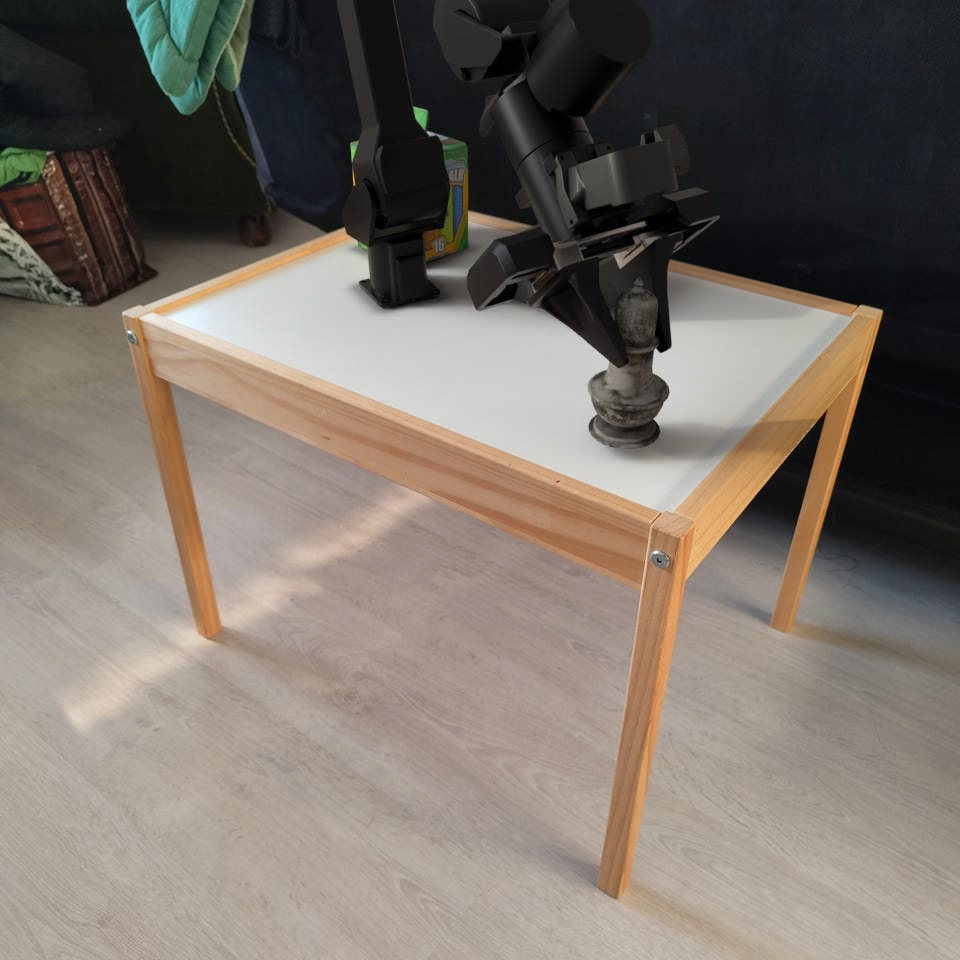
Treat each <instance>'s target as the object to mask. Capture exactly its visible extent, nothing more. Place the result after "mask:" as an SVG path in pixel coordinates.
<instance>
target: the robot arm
mask: <svg viewBox="0 0 960 960" xmlns="http://www.w3.org/2000/svg"><path fill="white" fill-rule="evenodd" d="M335 1H336V5H337V10H338V16H339V20H340V25H341V30H342V35H343V39H344V44H345V49H346V54H347V60H348V64H349V69H350V75H351V78H352V84H353V88H354V93H355V99H356V104H357V107H358V112H359V118H360V122H361V123H360V124H361V133H360V136H359V138H358V141H359V142H358V145H357V148H356V151H355V154H354V158H353V161H352V160H351V166H352V167H353V168H352V175H353V174H354V181H355V185H354V184H353V187H352V189H351V191H350V193H349V195H348V197H347V199H346V201H345V203H344V205H343V207H342V210H341V211H340V212H341V214H340V215H341V218H342V221H343V226H344V230H345V233H346V235H347V236H349V237H350V238H352V239H354V240H355V241H357V243H358V242H360V243H362V244H363V245H365V246H366V247H367V250H366V252H367V262H368V270H369V271H368V272H369V278H365V279H361V280H358V286H359V288H360V289H361V290H362V291H363V292H364V293H365V294H366V295H367V296H368V297H370V299H371V300H372V301H374V303H375V304H377V306H379V307H380V308H389V307H390V308H391V307H393V306H398V305H402V304H408V303H412V302H416V301H420V300H425V299H429V298H434V297H439V296H440V295H441V289H440V288H439V287H438V286H437V285H436V284H435V283H433V282H432V281H431V280H430V279H429V278H428V270H427V269H428V268H427V262H426V249H425V232H428V231H432V230H436V229H438V230H440V229H443V228H444V224H445V219H446V213H447V207H448V202H449V196H450V183H449V182H450V179H449V176H448V173H447V170H446V166H445V161H444V152H443V144H442V142H441V141H440V139H439V137H438V136H437V135H434V136H429V135H428V133H427V132H426V131H425V130H424V128H423V127H422V126H421V125H420V124H419V122H418V121H417V120H416V117H415V113H414V108H413V107H414V102H413V98H412V91H411V87H410V80H409V76H408V70H407V65H406V59H405V54H404V53H405V52H404V47H403V43H402V37H401V32H400V26H399V21H398V16H397V9H396V5H395V4H396V3H395V0H335ZM432 28H433V31H434V33H435V35H436V38H437V41H438V42H439V45H440V47H441V50H442V53H443V56H444V58H445V60H446V61H447V63H448V65H449V67H450V69H451V72H453V73H454V75H455V76H456V77H457V79H458V80H460V81H461V82H463V83H483V82H488V81H495V80H500V79H506V80H505V81H504V82H503V83H502V85H501V87H500V88H499V89H498V91H497V93H496V94H493V95H487V96H486V97H485V99H484V110H483V113H482V115H481V118H480V120H479V129H478V132H479V135H480V137H482V138H487V137H492V136H497V135H498V136H499V138H500V140H501V142H502V144H503V147H504V149H505V151H506V154H507V156H508V158H509V160H510V162H511V164H512V168H513V169H514V171H515V173H516V176H517V178H518V181H519V183H520V185H521V188H520V189H519V191H518V192H517V193H516V194H515V195H514V198H515V200H516V203H517V205H518V207H519V210H523V209H526V208H531V209H532V212H533V214H534V216H535V218H536V220H537V224H539V225H540V227H541V229H542V231H541V230H539V229H533V230H529V231H525V232H522V231H521V232H522V233H519V232H517V233H518V234H517V233H515V234H511V235H507V236H502V237H499V238H496V239H493V240H492V242H491V243H490V244H489V245H488V246H487V247H486V249H485V250H484V251H483V252H482V254H480V256H478V258H477V259H476V260H475V262H473V264H472V265H471V266H470V268H469V269H468V271H467V275H466V291H467V293H468V295H469V298H470V300H471V303H472V305H473V307H474V308H475V311H477V312H482V311H487V310H489V309H493V308H496V307H500V306H503V305H506V304H511V303H512V301H513V300H515V299H514V297H515V294H516V291H517V289H518V284H517V282H520V281H523V280H527V279H529V280H530V282H531V285H532V287H533V290H534V292H535V294H533V295H532V296H531V297H530V298H529V299H528V300H527V303H526V304H527V306H528V307H529V308H530V309H533V308H539V307H541V308H540V309H542V310H543V311H544V312H546V313H548V314H549V315H551V316H552V317H553V318H555V319H556V320H557V321H559V322H561V323H562V324H563V325H565V326H566V327H567V328H569V329H571V330H572V331H573V332H574V333H575V334H576V335H578V336H579V337H580V338H581V339H582V340H584V342H585V343H587V344H588V345H589V346H591V347H592V348H593V349H594V350H596V352H598V353H599V354H600V355H601V356H602V357H604V358H605V359H606V360H607V361H608V362H609V361H610V362H611V363H612V364H613V365H614V366H616V367H617V368H622V367H624V366H626V365H627V364H628V363H629V358H628V355H627V351H626V348H625V345H624V342H623V340H622V337H621V335H620V333H619V331H618V328H617V326H616V324H615V321H614V316H613V315H612V312H611V309H609V308H608V306H607V303H606V301H605V299H604V297H603V294H602V292H601V290H600V285H599V258H603V257H606V256H610V255H614V257H615V259H616V261H617V264H618V266H619V268H620V270H618V271H617V272H616V273H615V274H614V275H612V276H611V277H610V279H611V281H612V282H613V284H614V285H615V287H616V289H617V290H618V292H619V293H621V292H623V291H625V290H627V289H630V288H633V287H635V285H634V282H635V281H636V280H637V279H638V278H639V277H640V278H641V279H642V282H644V285H642V288H644V289H646V290H648V291H650V292H652V293H653V294H654V295H655V296H656V298H657V300H658V312H657V321H656V329H655V335H656V336H657V337H658V338H659V342H660V343H659V346H658V347H657V348H656V349H655V350H656V351H657V352H658V353H659V354H663V353H665V352H667V351H669V350H670V349H672V347H673V342H672V341H673V340H672V331H671V330H672V329H671V319H670V305H669V294H668V274H669V273H668V269H669V264H670V261H671V258H672V255H673V253H675V252H677V251H679V250H680V249H682V248H683V247H685V246H686V245H687V244H688V243H689V242H691V241H692V240H694V239H695V238H696V237H698V235H700V234H701V233H702V232H703V231H705V230H706V229H708V228H709V227H710V226H711V225H712V224H714V223H715V222H716V221H717V220H719V219H720V218H721V215H720V213H719V211H718V208H717V206H716V204H715V202H714V200H713V197H712V195H711V193H710V191H707V190H705V189H702V188H700V187H697V186H694V187H691V188H688V189H684V190H679V186H678V179H677V176H680V175H684V174H687V173H688V172H689V170H690V167H691V159H690V152H689V148H688V144H687V143H686V141H685V138H684V137H683V136H682V134H681V132H680V130H679V129H678V127H677V126H676V124H671V125H666V126H660V127H657V128H654V130H649V131H646V132H643V133H642V134H641V135H640V142H639V145H637V146H633V147H632V146H631V147H628V148H623V149H621V150H615V148H614V146H613V145H612V144H611V143H609V142H608V140H602V141H597V142H595V141H594V139H593V137H592V135H591V133H590V130H589V128H588V127H587V124H586V122H585V120H584V118H586V117H590V116H593V115H594V114H596V113H598V112H599V110H601V108H602V107H603V106H604V105H605V104H606V103H607V101H608V100H609V99H610V98H611V97H612V96H613V95H614V94H615V92H616V91H617V90H618V88H619V87H620V86H621V85H622V84H623V83H624V82H625V80H626V79H627V78H628V77H629V75H631V73H632V72H633V71H634V70H635V68H636V67H637V66H638V65H639V64H640V62H641V61H642V60H643V59H644V57H646V55H647V54H648V53H649V51H650V48H651V46H652V42H653V28H652V24H651V21H650V18H649V16H648V14H647V11H646V10H645V8H644V7H643V6H641V5H639V4H637V2H636V1H635V0H553V1H552V3H551V1H550V0H435V1H434V9H433V19H432ZM354 181H353V182H354ZM675 191H676V192H675ZM660 192H664V193H666V194H664V195H661V196H660V197H659V198H657V200H656V201H654V202H653V203H652V204H651V205H650V206H649V207H648V208H646V210H645V211H643V212H642V213H641V214H640V215H639V216H637V218H635V219H633V220H629V218H628V217H629V216H630V215H631V214H633V213H637V212H638V211H639V210H640V209H641V208H642V207H643V206H645V205H646V202H645V200H644V199H645V198H646V197H647V196H649V195H653V194H656V193H660ZM611 239H612V240H613V241H612V242H608V243H605V244H603V242H606V241H608V240H611Z"/></svg>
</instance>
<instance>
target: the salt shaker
mask: <svg viewBox="0 0 960 960" xmlns="http://www.w3.org/2000/svg"><path fill="white" fill-rule="evenodd" d="M634 285H635V287H633V288H630V289H627V290H625V291H623V292H621V293H620V294H619V295H618V297H617V299H616V303H615V306H614V315H613V319H614V321H615V324H616V326H617V328H618V331H619V333H620V335H621V337H622V340H623V342H624V345H625V348H626V351H627V355H628V358H629V363H628V364H627V365H626V366H624V367H622V368H617V367H616V366H614V365H613V364H612V363H611V362H610V361H608V365H607V368H606V369H605V370H602V371H599V372H597V373H595V374H593V376H591V377H590V379H589V380H588V382H587V392H588V394H589V396H590V401H591V404H592V407H593V408H594V411H595V413H596V414H594V416H593V417H592V418H591V419H590V421H589V423H588V432H589V434H590V436H591V437H592V438H593V439H594V440H595V441H597V442H598V443H600V444H602V445H604V446H608V447H610V448H614V449H620V450H636V449H637V450H638V449H643V448H645V447H649V446H650V445H652V444H654V443H655V442H656V441H657V440H658V439H659V437H660V434H661V427H660V425H659V423H658V422H657V421H656V420H655V418H656V417H657V416H658V415H659V413H660V412H661V410H662V408H663V407H664V404H665V402H666V400H668V399H669V396H670V393H671V391H670V387H669V385H668V383H667V382H666V381H665V380H664V379H663V378H662V377H661V376H659V375H657V374H655V373H654V372H653V365H654V355H655V350H657V349H656V348H657V347H658V346H659V343H660V342H659V338H658V337H657V336H656V335H655V329H656V321H657V312H658V300H657V298H656V296H655V295H654V294H653V293H652V292H650V291H648V290H646V289H644V288H642V285H644V282H642V279H641V278H640V277H639V278H638V279H637V280H636V281H635V282H634Z"/></svg>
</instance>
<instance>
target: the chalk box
mask: <svg viewBox="0 0 960 960" xmlns="http://www.w3.org/2000/svg"><path fill="white" fill-rule="evenodd" d="M413 108H414V113H415V117H416V120H417V121H418V122H419V124H420V125H421V126H422V127H423V128H424V130H425V131H426V132H427V133H428V135H429V136H434V135H437V136H438V137H439V139H440V141H441V142H442V144H443V152H444V161H445V166H446V170H447V173H448V176H449V179H450V182H449V183H450V196H449V202H448V207H447V213H446V219H445V224H444V228H443V229H440V230H438V229H436V230H432V231H428V232H425V249H426V263H427V262H430V261H433V260H437V259H439V258H441V257H445V256H448V255H451V254H454V253H456V252H460V251H463V250H466V249H467V250H468V249H469V247H470V246H469V147H468V146H467V143H466V142H464V141H462V140H458V139H456V138H453V137H450V136H446V135H444V134H440V133H437V132H433V131H431V130H428V128H429V122H430V112H429V110H428V109H425V108H421V107H416V106H413ZM358 142H359V140H354V141H351V142H350V153H351V156H350V157H351V162H352V161H353V158H354V154H355V151H356V148H357V145H358ZM352 169H353V167H352ZM352 181H353V186H354V185H355V181H354V174H353V173H352ZM357 247H358V248H361V249H364V250H366V251H367V247H366V246H365V245H363V244H362V243H360V242H358V241H357Z"/></svg>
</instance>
